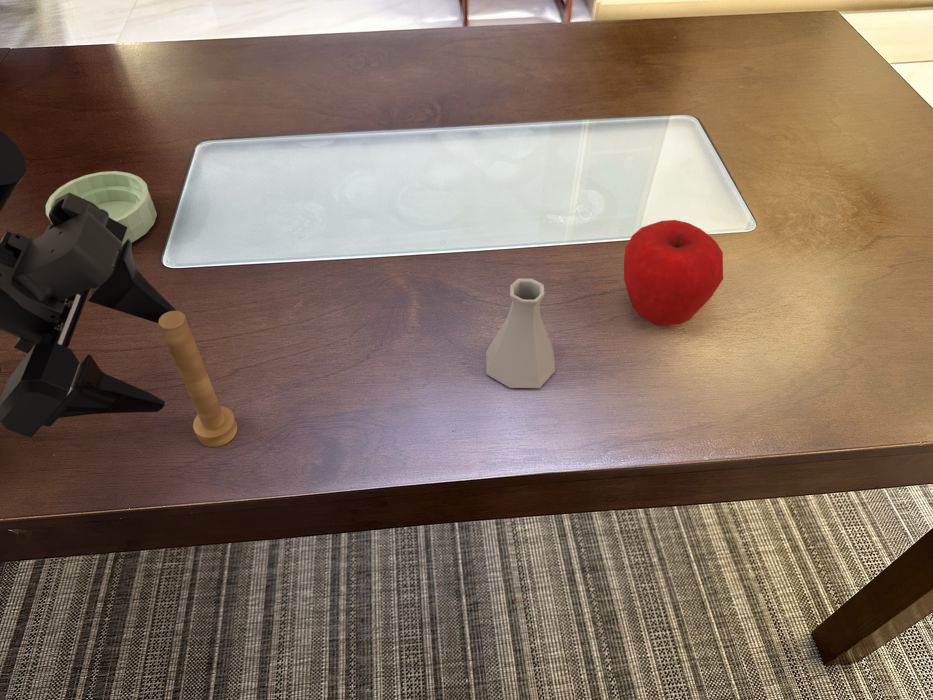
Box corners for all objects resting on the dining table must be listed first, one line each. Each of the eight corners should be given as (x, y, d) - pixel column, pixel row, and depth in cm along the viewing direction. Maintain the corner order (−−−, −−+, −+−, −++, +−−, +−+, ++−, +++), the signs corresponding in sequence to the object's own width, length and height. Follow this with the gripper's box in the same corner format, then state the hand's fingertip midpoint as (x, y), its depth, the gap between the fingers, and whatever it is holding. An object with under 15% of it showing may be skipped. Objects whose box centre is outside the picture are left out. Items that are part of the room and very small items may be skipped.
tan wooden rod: (194, 448, 65) (142, 337, 54) (200, 417, 67) (152, 304, 57) (235, 445, 65) (191, 334, 55) (239, 414, 68) (198, 301, 57)
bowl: (47, 258, 83) (32, 230, 80) (74, 201, 90) (61, 173, 87) (148, 253, 83) (136, 225, 80) (165, 196, 91) (156, 169, 88)
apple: (724, 325, 76) (755, 244, 68) (652, 357, 73) (675, 275, 65) (665, 271, 82) (687, 190, 74) (595, 297, 79) (611, 216, 71)
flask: (564, 347, 74) (575, 273, 66) (545, 399, 69) (556, 326, 62) (496, 330, 75) (500, 256, 68) (474, 380, 71) (476, 306, 63)
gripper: (-44, 295, 40) (209, 403, 49) (53, 121, 53) (240, 233, 62) (-110, 394, 45) (129, 476, 54) (-8, 215, 58) (173, 305, 67)
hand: (172, 363), depth 59 cm, fingers open, 9 cm apart
